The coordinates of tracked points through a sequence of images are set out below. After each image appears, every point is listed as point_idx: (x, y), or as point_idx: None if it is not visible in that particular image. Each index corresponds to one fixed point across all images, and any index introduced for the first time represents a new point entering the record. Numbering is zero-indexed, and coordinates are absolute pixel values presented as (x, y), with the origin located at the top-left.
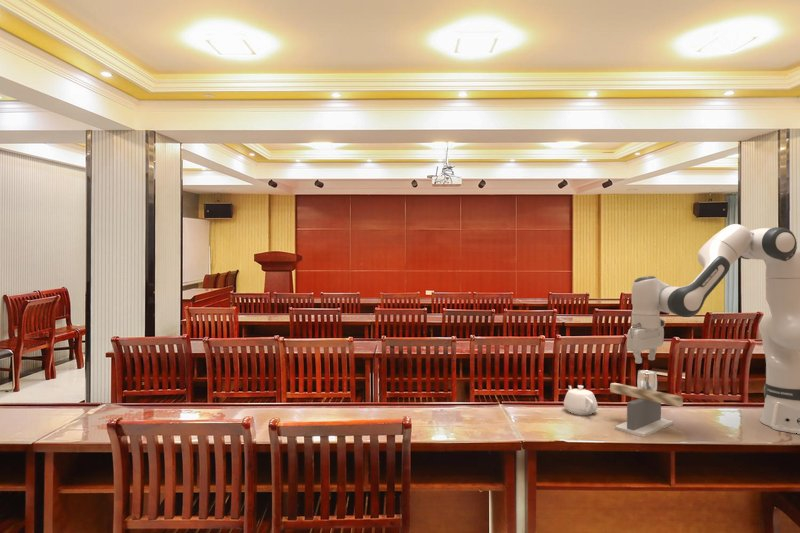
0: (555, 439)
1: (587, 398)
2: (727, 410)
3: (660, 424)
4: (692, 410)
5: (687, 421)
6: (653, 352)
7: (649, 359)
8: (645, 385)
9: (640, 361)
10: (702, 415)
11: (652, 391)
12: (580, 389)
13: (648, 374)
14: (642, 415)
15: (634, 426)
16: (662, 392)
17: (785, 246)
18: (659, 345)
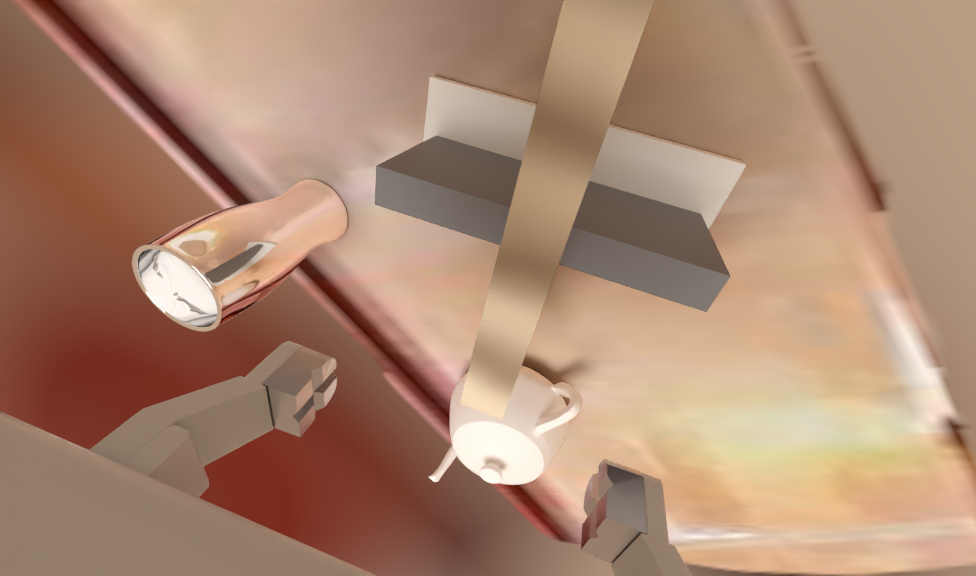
0: (935, 444)
1: (550, 428)
2: None
3: (523, 121)
4: (169, 37)
5: (343, 20)
6: (226, 416)
7: (333, 383)
8: (272, 261)
9: (657, 498)
10: None
11: (541, 212)
12: (500, 465)
13: (212, 279)
14: (617, 208)
15: (698, 218)
16: (526, 144)
17: None
18: (11, 445)
